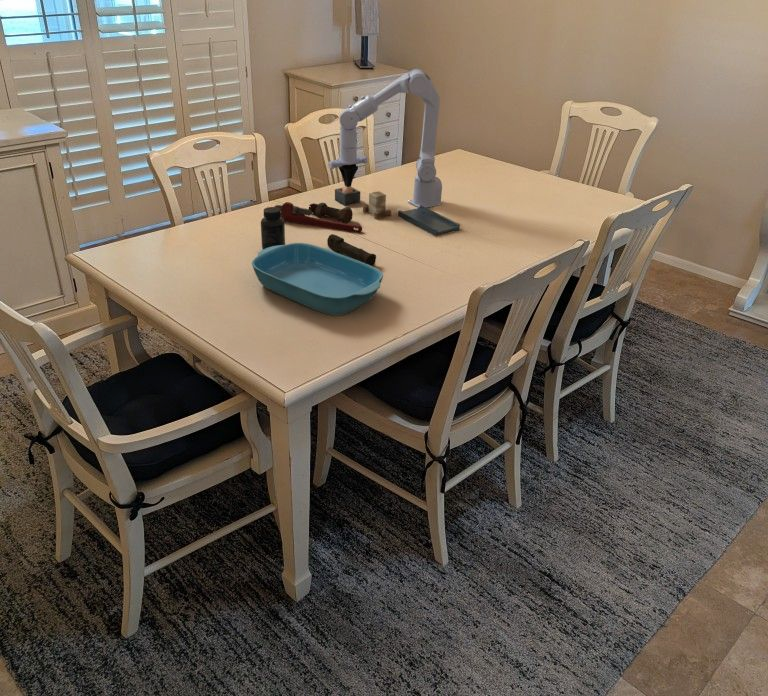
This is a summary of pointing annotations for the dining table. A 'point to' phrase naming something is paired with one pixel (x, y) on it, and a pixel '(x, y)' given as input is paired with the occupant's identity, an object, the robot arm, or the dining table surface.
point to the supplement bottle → (272, 228)
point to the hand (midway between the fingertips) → (347, 186)
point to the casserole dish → (317, 277)
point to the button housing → (347, 197)
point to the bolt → (332, 212)
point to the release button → (347, 189)
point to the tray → (429, 221)
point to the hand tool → (350, 250)
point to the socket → (378, 213)
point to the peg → (376, 202)
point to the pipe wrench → (298, 216)
